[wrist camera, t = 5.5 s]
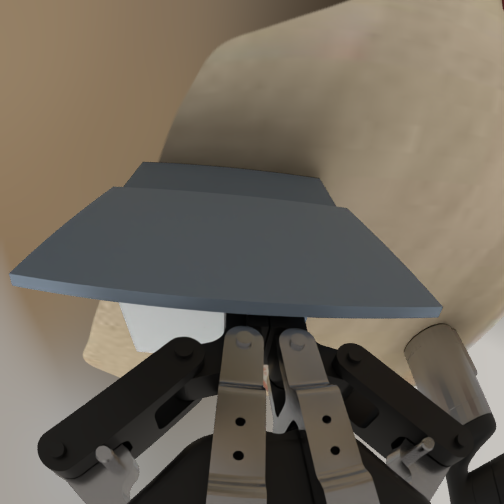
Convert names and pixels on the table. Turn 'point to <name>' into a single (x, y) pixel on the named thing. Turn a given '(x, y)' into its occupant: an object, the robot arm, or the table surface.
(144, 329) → the supplement box
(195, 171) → the open blue-gray box
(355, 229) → the lid
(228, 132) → the table surface
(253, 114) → the table surface
